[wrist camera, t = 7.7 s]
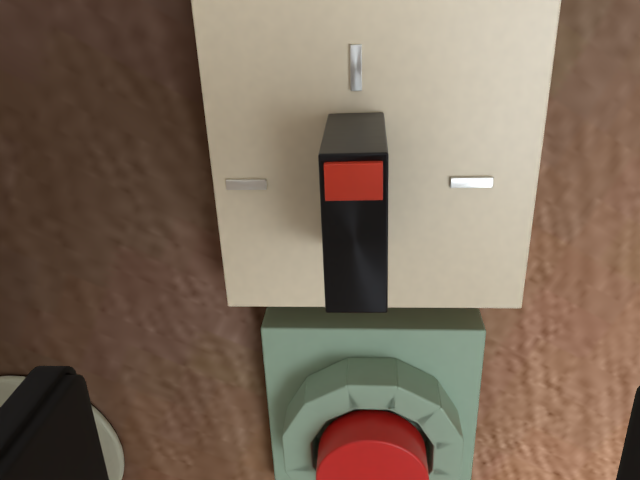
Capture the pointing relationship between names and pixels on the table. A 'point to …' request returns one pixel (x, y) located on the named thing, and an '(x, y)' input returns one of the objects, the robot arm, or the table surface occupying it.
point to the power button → (371, 448)
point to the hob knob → (354, 212)
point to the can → (108, 438)
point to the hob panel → (402, 138)
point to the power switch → (373, 379)
